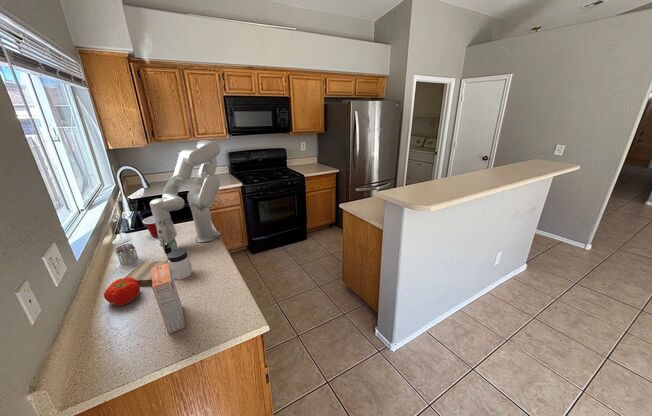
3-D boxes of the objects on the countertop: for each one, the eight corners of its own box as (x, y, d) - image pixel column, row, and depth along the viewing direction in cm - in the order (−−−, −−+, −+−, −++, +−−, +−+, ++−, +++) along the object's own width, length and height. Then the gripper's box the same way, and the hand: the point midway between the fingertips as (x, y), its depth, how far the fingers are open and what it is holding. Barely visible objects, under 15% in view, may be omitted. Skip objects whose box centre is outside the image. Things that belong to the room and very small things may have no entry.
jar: (168, 277, 124) (162, 256, 120) (182, 268, 131) (176, 247, 127) (183, 281, 122) (177, 258, 117) (196, 271, 129) (191, 249, 124)
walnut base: (174, 265, 134) (173, 260, 133) (158, 284, 119) (156, 279, 118) (142, 267, 133) (140, 262, 132) (122, 287, 119) (120, 281, 118)
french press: (139, 256, 144) (125, 214, 135) (143, 264, 136) (129, 220, 127) (117, 263, 138) (101, 220, 129) (121, 272, 130) (104, 226, 121)
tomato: (113, 294, 114) (106, 278, 111) (145, 287, 118) (140, 271, 115) (101, 314, 103) (94, 296, 100) (138, 305, 107) (132, 288, 104)
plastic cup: (147, 241, 159) (142, 224, 155) (147, 235, 168) (142, 218, 163) (168, 236, 165) (163, 219, 161) (166, 230, 173) (162, 214, 169)
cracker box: (165, 311, 103) (150, 267, 96) (182, 305, 106) (169, 261, 99) (167, 335, 92) (151, 287, 84) (186, 328, 95) (172, 280, 87)
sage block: (178, 249, 149) (175, 240, 147) (174, 254, 145) (171, 244, 143) (169, 250, 149) (166, 240, 147) (165, 254, 144) (162, 245, 142)
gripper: (162, 227, 132) (171, 258, 139) (177, 214, 148) (184, 243, 155) (147, 228, 132) (156, 259, 139) (164, 215, 148) (171, 243, 154)
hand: (171, 250), depth 147 cm, fingers closed on sage block, 5 cm apart
